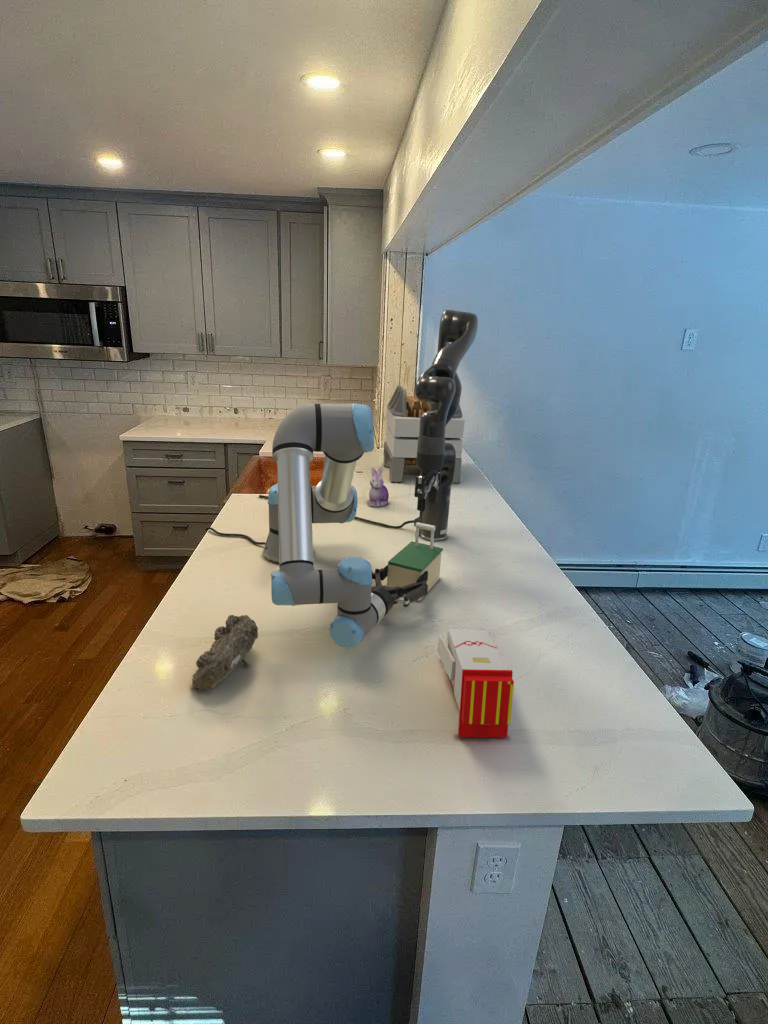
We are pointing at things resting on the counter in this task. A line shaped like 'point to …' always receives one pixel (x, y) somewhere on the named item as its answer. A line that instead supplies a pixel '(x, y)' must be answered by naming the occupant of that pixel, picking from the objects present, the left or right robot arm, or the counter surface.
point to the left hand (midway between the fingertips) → (408, 571)
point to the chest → (413, 575)
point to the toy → (478, 682)
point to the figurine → (377, 489)
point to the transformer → (414, 434)
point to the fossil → (225, 651)
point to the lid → (417, 552)
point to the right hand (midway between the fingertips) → (426, 506)
